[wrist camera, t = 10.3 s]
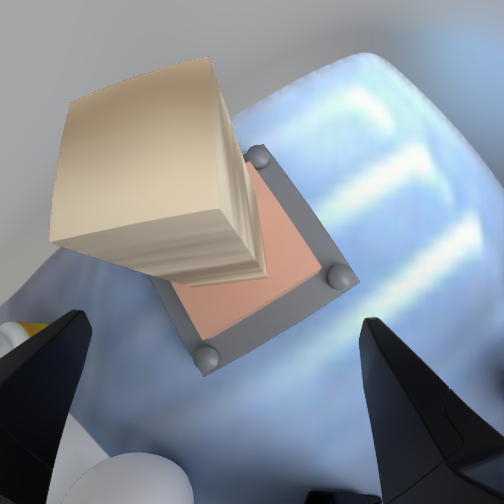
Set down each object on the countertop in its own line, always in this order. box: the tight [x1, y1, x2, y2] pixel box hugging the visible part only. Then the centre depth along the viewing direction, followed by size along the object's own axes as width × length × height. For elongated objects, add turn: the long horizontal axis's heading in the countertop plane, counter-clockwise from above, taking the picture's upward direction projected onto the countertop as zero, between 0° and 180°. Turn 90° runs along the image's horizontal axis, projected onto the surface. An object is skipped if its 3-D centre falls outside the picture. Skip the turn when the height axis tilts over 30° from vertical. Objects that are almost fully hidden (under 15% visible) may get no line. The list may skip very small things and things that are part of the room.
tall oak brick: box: [49, 56, 268, 288], centre depth 13 cm, size 4×4×12 cm
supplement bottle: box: [0, 322, 50, 358], centre depth 19 cm, size 5×5×10 cm
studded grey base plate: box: [149, 144, 360, 377], centre depth 21 cm, size 12×12×5 cm
